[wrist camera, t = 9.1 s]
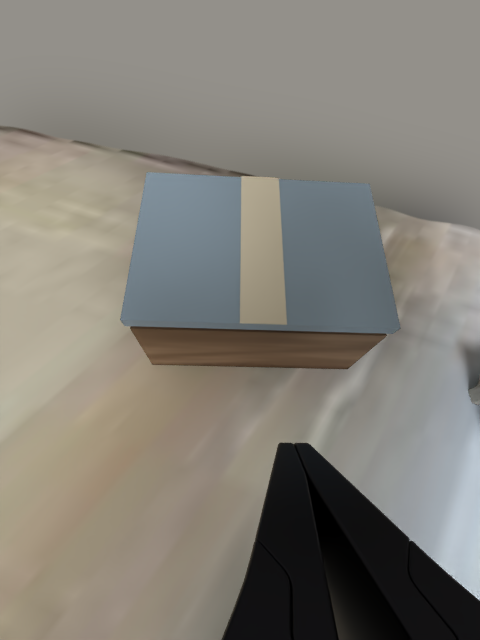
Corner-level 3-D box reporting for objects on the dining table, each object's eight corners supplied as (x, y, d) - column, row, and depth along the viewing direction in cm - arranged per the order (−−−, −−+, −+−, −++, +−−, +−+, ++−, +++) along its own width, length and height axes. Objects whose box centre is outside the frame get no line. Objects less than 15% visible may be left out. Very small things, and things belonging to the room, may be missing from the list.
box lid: (392, 333, 17) (401, 327, 16) (124, 326, 16) (119, 318, 15) (364, 193, 21) (370, 182, 20) (149, 182, 20) (146, 170, 20)
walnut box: (347, 369, 23) (386, 336, 17) (152, 364, 22) (130, 328, 17) (330, 258, 27) (357, 204, 22) (167, 251, 26) (154, 194, 21)
